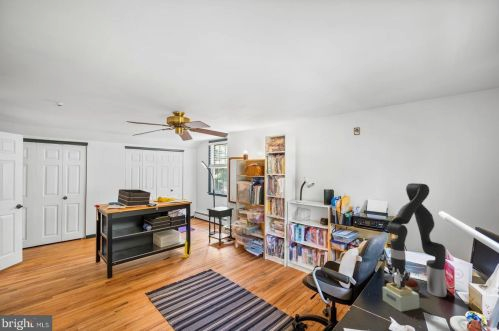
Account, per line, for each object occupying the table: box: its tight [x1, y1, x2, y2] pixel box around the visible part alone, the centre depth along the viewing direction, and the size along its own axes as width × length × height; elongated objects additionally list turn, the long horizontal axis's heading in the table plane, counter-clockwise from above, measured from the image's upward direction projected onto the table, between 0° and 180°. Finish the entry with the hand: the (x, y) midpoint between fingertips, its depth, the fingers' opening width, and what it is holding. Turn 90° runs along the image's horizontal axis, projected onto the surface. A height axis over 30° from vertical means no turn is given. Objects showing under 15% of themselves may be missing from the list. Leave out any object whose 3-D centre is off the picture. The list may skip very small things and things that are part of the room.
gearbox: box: [382, 283, 420, 312], centre depth 133 cm, size 14×15×10 cm
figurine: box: [383, 277, 421, 293], centre depth 146 cm, size 15×9×20 cm
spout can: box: [394, 270, 403, 290], centre depth 131 cm, size 4×4×11 cm
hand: (398, 285), depth 131 cm, fingers closed on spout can, 4 cm apart
